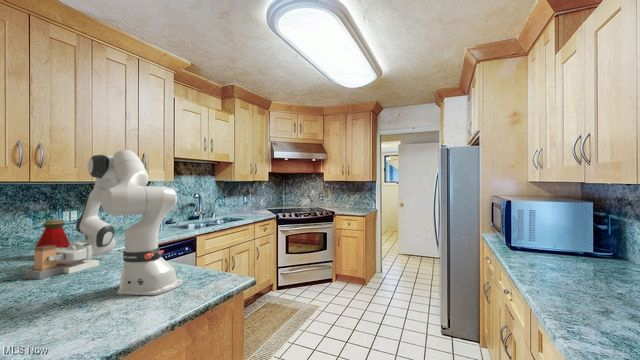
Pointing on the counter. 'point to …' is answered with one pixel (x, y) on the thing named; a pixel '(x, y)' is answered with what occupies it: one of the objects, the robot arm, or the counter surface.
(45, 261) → the tan upright wooden block
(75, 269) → the white slab
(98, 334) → the counter surface
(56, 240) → the red faceted jar
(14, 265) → the counter surface
